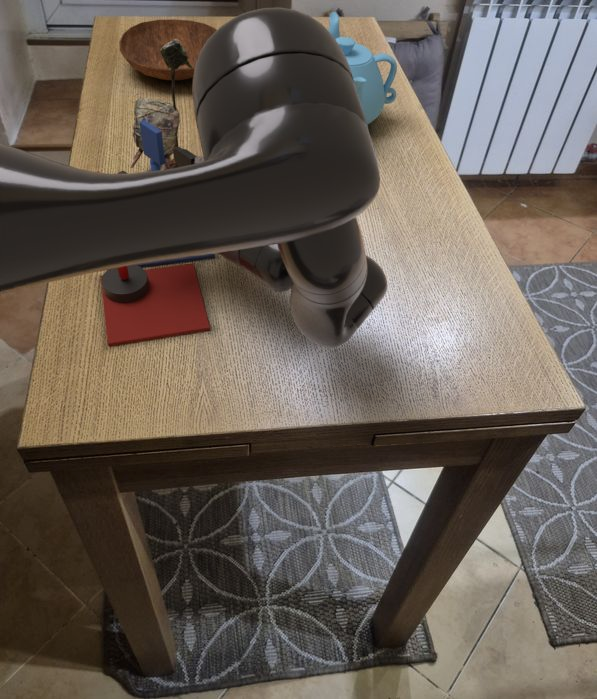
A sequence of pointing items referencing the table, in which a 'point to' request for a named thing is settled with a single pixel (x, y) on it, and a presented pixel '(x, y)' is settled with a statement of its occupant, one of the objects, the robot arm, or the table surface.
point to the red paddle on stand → (125, 283)
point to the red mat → (158, 308)
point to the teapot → (366, 72)
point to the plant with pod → (162, 108)
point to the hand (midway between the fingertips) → (148, 165)
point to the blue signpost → (152, 145)
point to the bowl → (151, 36)
